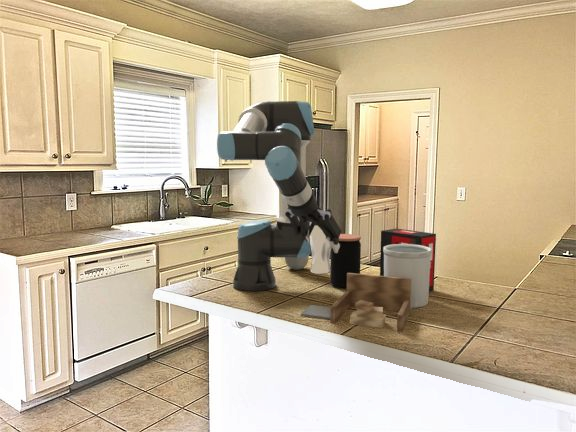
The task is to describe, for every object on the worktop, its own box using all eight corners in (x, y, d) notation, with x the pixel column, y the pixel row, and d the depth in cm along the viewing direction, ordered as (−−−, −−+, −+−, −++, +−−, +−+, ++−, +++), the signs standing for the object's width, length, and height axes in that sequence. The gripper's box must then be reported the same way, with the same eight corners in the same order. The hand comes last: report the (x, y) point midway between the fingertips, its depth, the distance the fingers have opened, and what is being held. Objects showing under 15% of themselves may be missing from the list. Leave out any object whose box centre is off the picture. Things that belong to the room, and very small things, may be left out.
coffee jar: (359, 281, 176) (360, 234, 173) (360, 289, 165) (361, 238, 163) (330, 281, 177) (331, 233, 174) (330, 288, 166) (330, 238, 164)
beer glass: (334, 270, 140) (335, 220, 139) (329, 275, 134) (330, 223, 132) (312, 268, 143) (312, 218, 141) (305, 273, 136) (306, 221, 134)
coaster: (300, 315, 137) (300, 313, 137) (310, 306, 146) (310, 304, 146) (330, 319, 134) (330, 317, 134) (338, 310, 142) (338, 308, 142)
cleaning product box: (433, 290, 164) (435, 233, 162) (418, 295, 159) (421, 236, 156) (394, 281, 177) (396, 228, 175) (379, 285, 171) (381, 230, 169)
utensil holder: (403, 311, 141) (405, 254, 139) (372, 298, 155) (373, 245, 152) (439, 304, 148) (442, 249, 146) (407, 292, 161) (408, 242, 159)
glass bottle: (283, 266, 200) (283, 200, 197) (307, 266, 201) (307, 200, 198) (285, 272, 190) (285, 203, 187) (310, 271, 191) (311, 202, 188)
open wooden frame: (330, 322, 132) (331, 287, 130) (347, 303, 149) (347, 272, 148) (401, 332, 125) (402, 295, 123) (410, 311, 142) (411, 278, 141)
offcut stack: (349, 323, 131) (350, 303, 130) (354, 318, 135) (354, 298, 135) (382, 328, 127) (383, 307, 127) (385, 322, 132) (386, 301, 132)
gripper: (263, 205, 128) (293, 254, 144) (327, 210, 118) (352, 262, 134) (273, 185, 132) (302, 235, 148) (337, 187, 122) (360, 241, 137)
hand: (326, 248), depth 141 cm, fingers closed on beer glass, 7 cm apart
